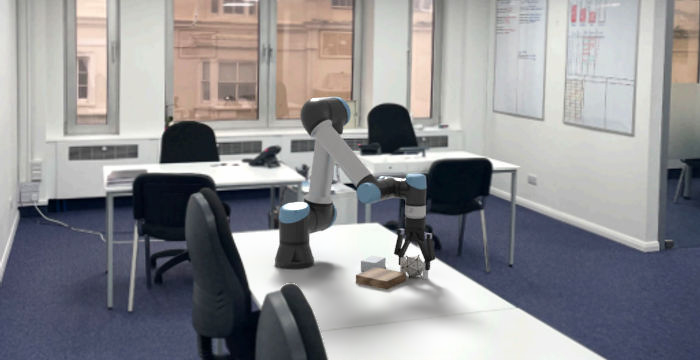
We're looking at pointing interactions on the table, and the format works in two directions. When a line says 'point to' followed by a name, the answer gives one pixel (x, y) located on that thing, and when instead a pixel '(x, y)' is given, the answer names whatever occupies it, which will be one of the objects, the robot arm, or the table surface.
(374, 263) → the card box
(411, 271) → the game die
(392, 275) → the plinth
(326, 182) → the robot arm
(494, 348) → the table surface
